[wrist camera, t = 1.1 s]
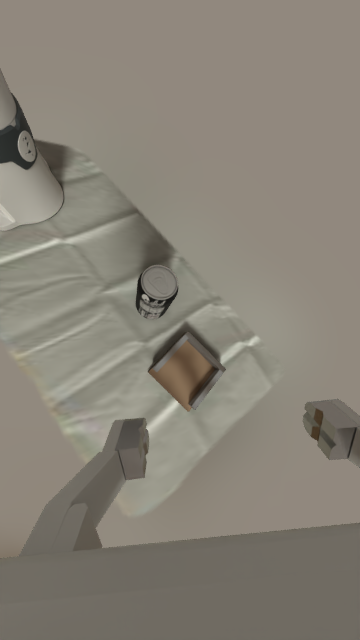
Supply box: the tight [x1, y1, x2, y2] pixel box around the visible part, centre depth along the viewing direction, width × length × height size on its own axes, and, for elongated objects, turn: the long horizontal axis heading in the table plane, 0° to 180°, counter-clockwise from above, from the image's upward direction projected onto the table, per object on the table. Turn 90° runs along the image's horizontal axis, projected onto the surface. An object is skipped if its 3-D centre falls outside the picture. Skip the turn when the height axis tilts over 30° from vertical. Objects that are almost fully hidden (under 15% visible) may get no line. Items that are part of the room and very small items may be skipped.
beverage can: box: [136, 265, 178, 319], centre depth 34 cm, size 7×7×12 cm
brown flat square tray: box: [148, 331, 226, 412], centre depth 37 cm, size 11×11×3 cm
